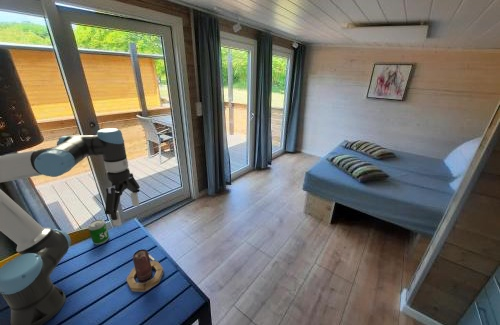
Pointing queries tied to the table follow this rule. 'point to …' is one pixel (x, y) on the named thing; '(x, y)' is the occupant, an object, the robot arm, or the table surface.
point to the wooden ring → (149, 284)
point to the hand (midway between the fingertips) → (127, 214)
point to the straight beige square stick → (151, 258)
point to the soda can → (98, 231)
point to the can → (142, 265)
